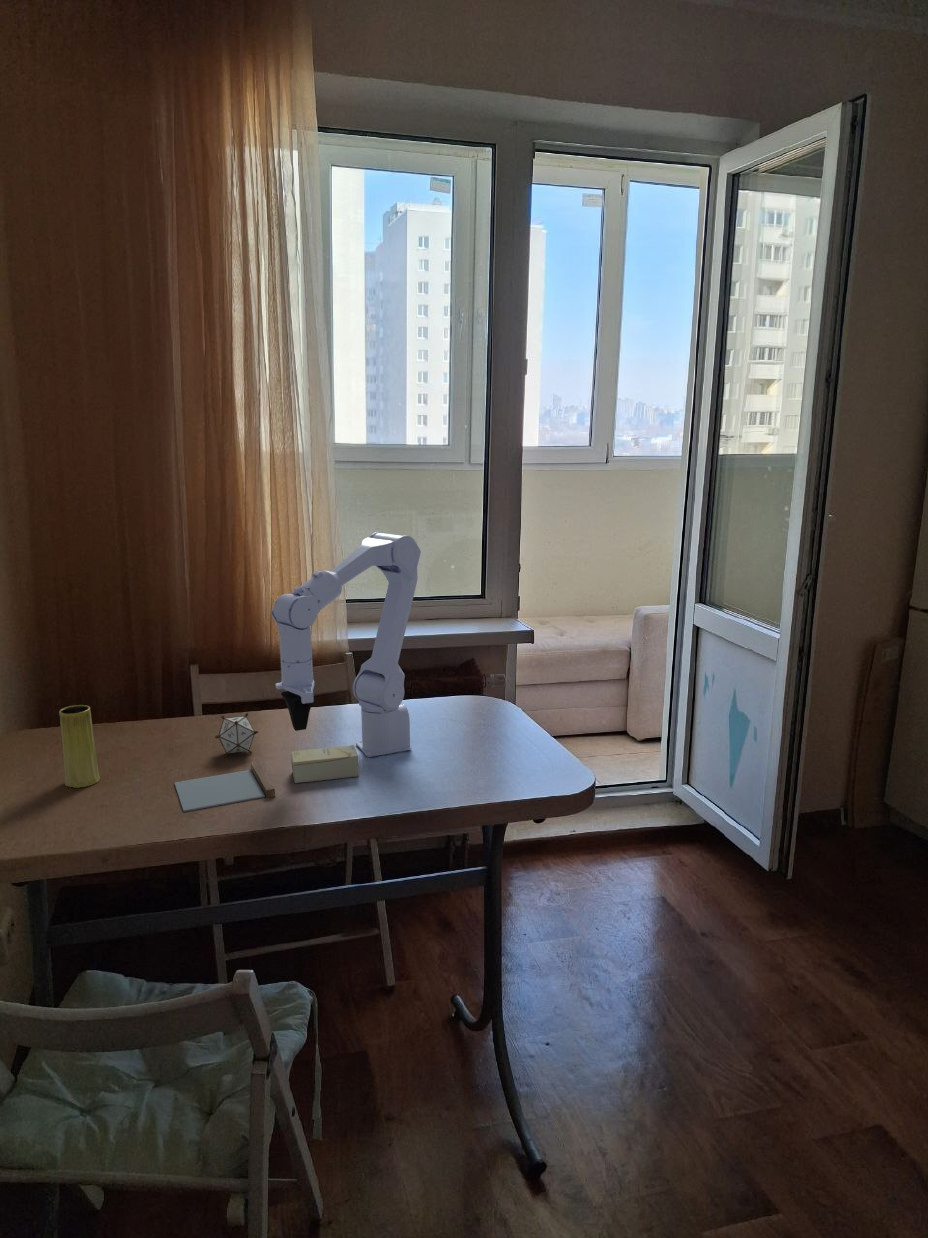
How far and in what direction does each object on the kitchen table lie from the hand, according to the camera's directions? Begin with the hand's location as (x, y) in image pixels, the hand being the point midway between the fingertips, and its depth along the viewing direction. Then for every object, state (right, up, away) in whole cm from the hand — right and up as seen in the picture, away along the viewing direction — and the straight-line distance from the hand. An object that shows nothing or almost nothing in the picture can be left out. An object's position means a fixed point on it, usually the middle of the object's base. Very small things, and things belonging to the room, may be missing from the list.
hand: (299, 729), depth 163 cm
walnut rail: (-7, -10, -1) cm, 12 cm away
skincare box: (-2, -7, +1) cm, 8 cm away
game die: (-15, -7, +14) cm, 22 cm away
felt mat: (-14, -11, -4) cm, 18 cm away
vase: (-41, -10, 0) cm, 42 cm away
